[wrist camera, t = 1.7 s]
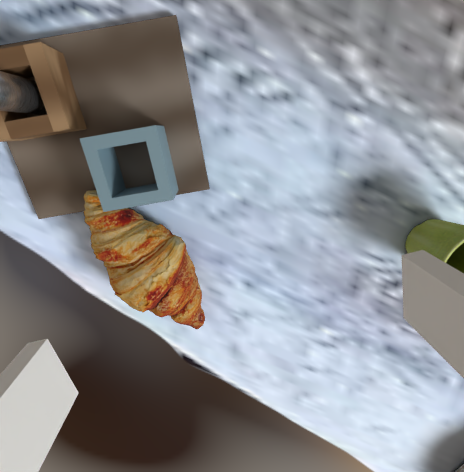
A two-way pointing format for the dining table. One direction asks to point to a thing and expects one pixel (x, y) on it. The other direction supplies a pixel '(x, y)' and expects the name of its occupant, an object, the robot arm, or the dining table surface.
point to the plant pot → (439, 241)
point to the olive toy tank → (460, 469)
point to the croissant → (145, 263)
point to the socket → (109, 173)
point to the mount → (51, 89)
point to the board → (116, 113)
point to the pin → (20, 95)
